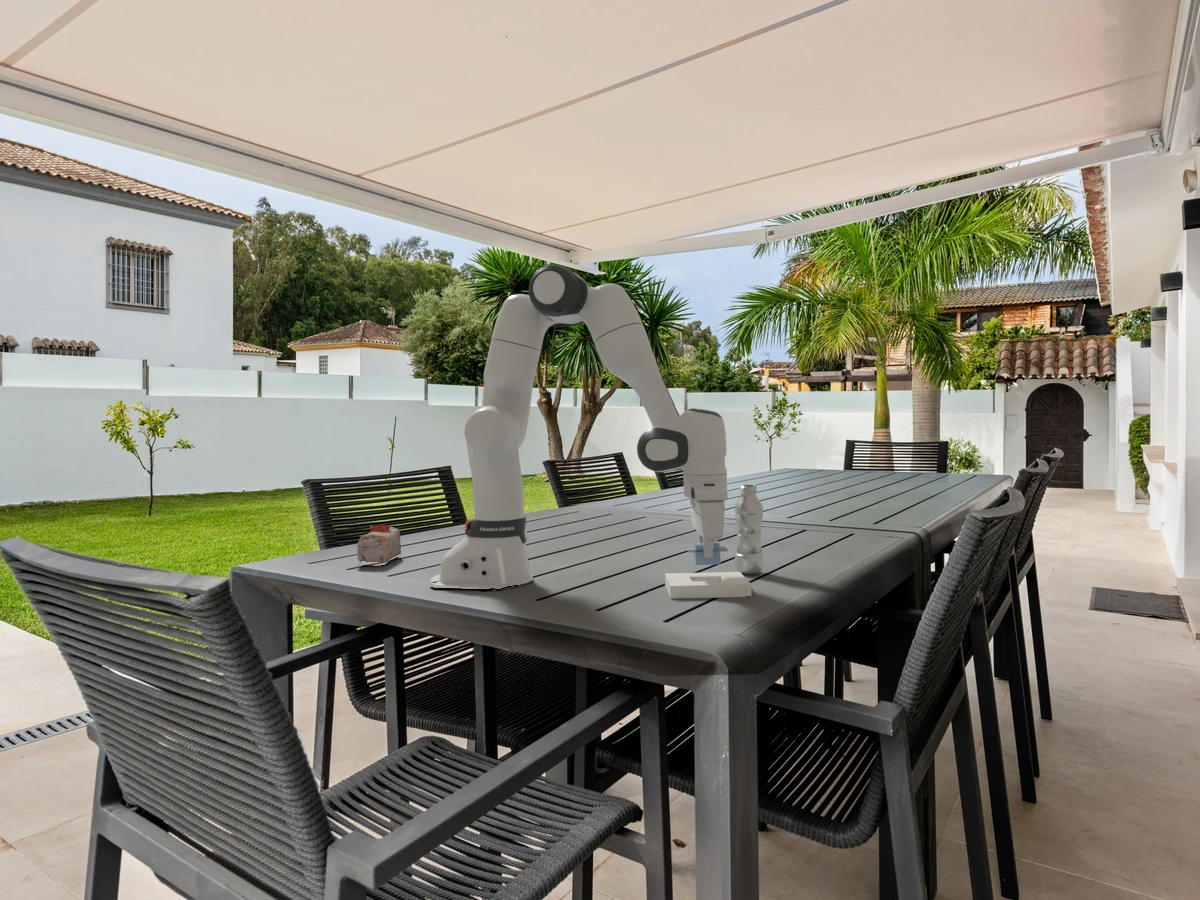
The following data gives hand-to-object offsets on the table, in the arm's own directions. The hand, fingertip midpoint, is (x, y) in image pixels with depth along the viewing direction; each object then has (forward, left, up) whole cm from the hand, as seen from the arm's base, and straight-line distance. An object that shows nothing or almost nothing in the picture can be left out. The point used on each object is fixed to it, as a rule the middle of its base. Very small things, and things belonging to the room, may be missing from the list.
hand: (706, 555), depth 155 cm
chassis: (0, 0, -7) cm, 7 cm away
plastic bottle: (+12, +16, -8) cm, 21 cm away
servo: (0, 0, -2) cm, 2 cm away
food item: (-79, +39, -8) cm, 88 cm away
